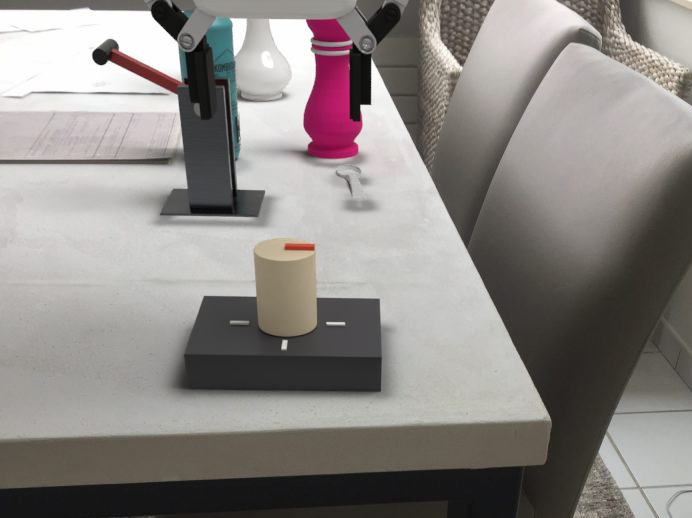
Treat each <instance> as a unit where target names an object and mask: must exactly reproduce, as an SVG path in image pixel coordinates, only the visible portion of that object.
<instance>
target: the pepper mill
mask: <svg viewBox="0 0 692 518" xmlns="http://www.w3.org/2000/svg"><path fill="white" fill-rule="evenodd" d="M305 23H306V26H307V27H308V28H309V30H310V31H311V33H312V35H313V36H312V37H311V38H310V40H309V41H310V43H311V47H310V51H311V53H313V54H314V62H315V63H314V64H315V77H314V80H313V81H314V82H313V85H312V88H311V91H310V94H309V96H308V99H307V101H306V103H305V107H304V112H303V119H302V121H303V123H302V126H303V129H304V131H305V133H306V134H307V135H308V137H309V138H310V139H311V141H310V142H309V143H308V145H307V153H308V154H309V155H311V156H313V157H316V158H318V159H319V158H320V159H326V160H341V159H349V158H353V157H356V156H357V155H358V154H359V145H358V143H357V142H356V141H355V140H356V138H358V137H359V135H360V133H361V132H362V130H363V126H364V124H363V123H364V122H363V114H362V112H361V121H360V122H353V119H350V93H349V49H352V40H351V38H350V37H349V36H348V34H347V33H346V32H345V31H344V29H343V28H342V27H341V25H340V24H339V23H338V21H337V20H336V19H335V18H334V19H311V20H310V19H305Z"/></svg>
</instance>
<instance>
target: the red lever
mask: <svg viewBox="0 0 692 518" xmlns="http://www.w3.org/2000/svg"><path fill="white" fill-rule="evenodd" d="M91 59H92V61H93V62H94V64H95V65H97V66H105V65H106V64H107V63H108V62H110V63H112V64H113V65H117V66H118V67H121V68H122V69H124V70H126V71H129V72H131V73H132V74H134V75H136V76H138V77H141V78H142V79H144V80H146V81H149V82H151V83H153V84H154V85H156V86H159V87H160V88H163V89H165V90H167V91H169V92H171V93H173V94H174V95H177V96H178V94H177V86H178V85H186V84H184V83H182V81H180V80H178V79H176V78H174V77H172V76H170V75H168V74H166V73H164V72H162V71H160V70H158V69H157V68H154V67H152V66H150V65H148V64H147V63H144V62H142V61H140V60H138V59H136V58H135V57H132V56H130V55H128V54H126V53H124V52H122V51H120V45H119V43H118V42H117V40H115V39H113V38H107V39H106V40H104V41H103V42H102V43H101V44H99V46H97V47H95V48H94V49H93V51H92V53H91Z"/></svg>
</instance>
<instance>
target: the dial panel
mask: <svg viewBox="0 0 692 518" xmlns="http://www.w3.org/2000/svg"><path fill="white" fill-rule="evenodd" d="M381 317H382V316H381V299H380V298H374V297H372V298H369V297H368V298H366V297H363V298H362V297H317V326H316V327H315V329H313V330H312V331H311V332H309V333H306V334H303V335H299V336H291V337H282V336H275V335H271V334H268V333H265V332H264V331H262V330H261V329H260V327H259V325H258V312H257V297H256V296H245V295H244V296H243V295H241V296H239V295H203V297H202V300H201V303H200V306H199V309H198V312H197V314H196V318H195V320H194V324H193V326H192V329H191V333H190V335H189V337H188V341H187V344H186V346H185V350H184V353H183V360H184V368H185V375H186V376H185V377H186V384H187V389H188V390H197V391H198V390H201V391H202V390H206V391H207V390H208V391H275V392H276V391H277V392H279V391H281V392H283V391H285V392H286V391H288V392H356V393H357V392H359V393H361V392H362V393H363V392H367V393H370V392H371V393H381V392H382V372H383V371H382V369H383V368H382V366H383V346H382V322H381V321H382V320H381Z"/></svg>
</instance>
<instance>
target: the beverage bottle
mask: <svg viewBox="0 0 692 518" xmlns="http://www.w3.org/2000/svg"><path fill="white" fill-rule="evenodd" d="M195 9H196V8H190V9H185V10H184V11H182V12H183V13H184V14H185V15H186V16H187V17H188V18H190V16H191V15H192V13H193V12H194V10H195ZM233 28H234V24H233V21H232V20H231V18H220V17H217V18H216V19H215V21H214V22H213V24H212V25H211V27H210V28H209V30H208V31H207V33H206V34H205V35H206V38H207V44H209V47H212V52H213V63H214V74H215V76H219V77H229V80H230V94H231V108H232V121H233V135H234V149H235V159H236V158H238V157H239V156H240V153H241V140H242V138H241V125H240V123H241V121H240V118H239V117H240V114H239V110H238V108H239V107H238V104H239V102H238V93H237V87H236V84H237V82H236V76H235V71H236V69H235V68H236V65H235V63H236V62H235V60H234V57H235V56H236V55H235V52H234V51H235V50H234V37H233V36H234V35H233V33H234V32H233ZM177 47H178V58H179V67H180V77H181V78H180V79H181V82H182V83H184V77H185V76H187V68H186V59H185V51H183V50H181V48H180V47H179V45H178V44H177ZM235 59H236V58H235Z"/></svg>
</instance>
